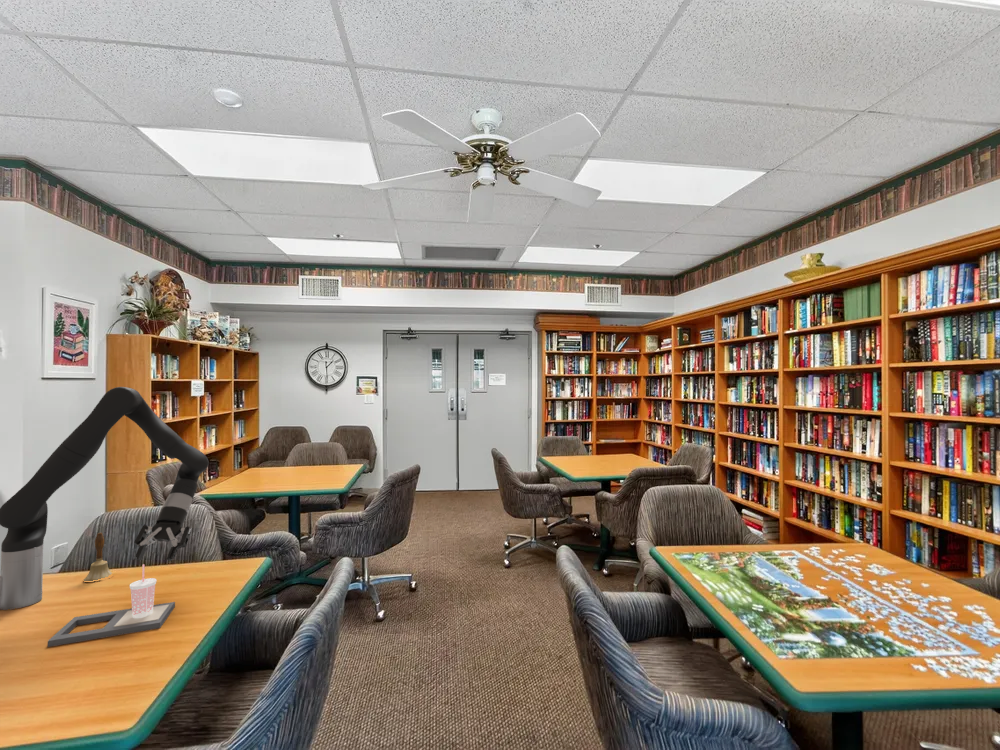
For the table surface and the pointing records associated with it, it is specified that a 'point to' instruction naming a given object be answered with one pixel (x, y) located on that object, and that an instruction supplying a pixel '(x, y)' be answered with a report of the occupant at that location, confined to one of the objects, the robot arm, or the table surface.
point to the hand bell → (98, 562)
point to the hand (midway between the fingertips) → (153, 559)
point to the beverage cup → (142, 596)
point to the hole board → (112, 624)
